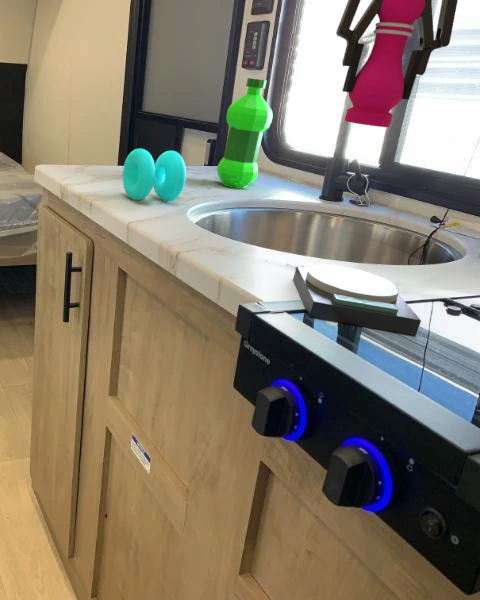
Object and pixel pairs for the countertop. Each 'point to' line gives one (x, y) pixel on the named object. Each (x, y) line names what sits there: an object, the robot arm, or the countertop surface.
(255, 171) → the plastic bottle
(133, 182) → the turquoise spool
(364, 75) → the pepper mill
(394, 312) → the kitchen scale
